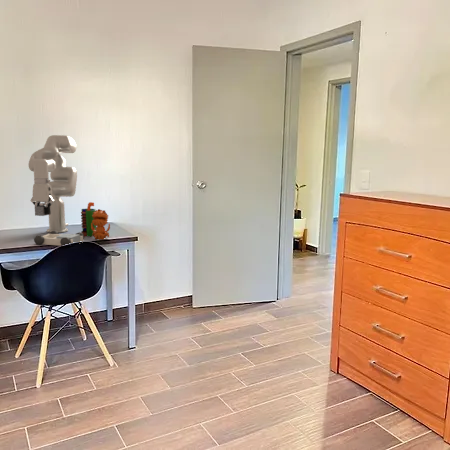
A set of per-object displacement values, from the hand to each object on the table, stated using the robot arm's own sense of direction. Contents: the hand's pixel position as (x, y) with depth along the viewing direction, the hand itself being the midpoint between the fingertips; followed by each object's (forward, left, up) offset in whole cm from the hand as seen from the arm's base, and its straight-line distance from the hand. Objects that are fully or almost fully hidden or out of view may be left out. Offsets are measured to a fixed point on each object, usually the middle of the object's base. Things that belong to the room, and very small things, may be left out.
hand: (43, 213), depth 251 cm
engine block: (0, 0, -1) cm, 1 cm away
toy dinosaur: (-16, +27, -16) cm, 35 cm away
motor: (-24, +15, -16) cm, 32 cm away
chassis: (+1, +11, -16) cm, 19 cm away
